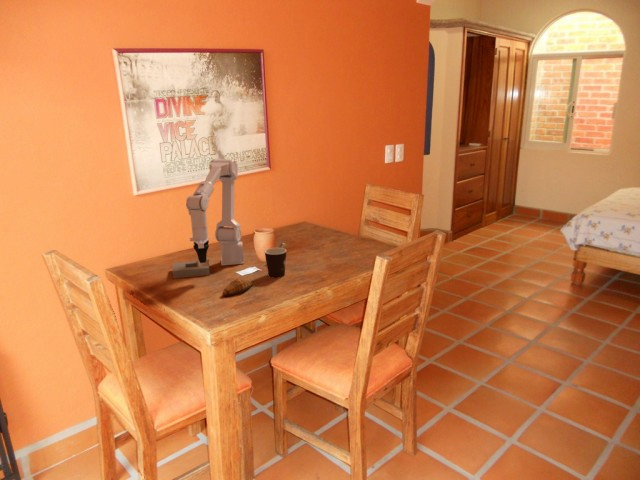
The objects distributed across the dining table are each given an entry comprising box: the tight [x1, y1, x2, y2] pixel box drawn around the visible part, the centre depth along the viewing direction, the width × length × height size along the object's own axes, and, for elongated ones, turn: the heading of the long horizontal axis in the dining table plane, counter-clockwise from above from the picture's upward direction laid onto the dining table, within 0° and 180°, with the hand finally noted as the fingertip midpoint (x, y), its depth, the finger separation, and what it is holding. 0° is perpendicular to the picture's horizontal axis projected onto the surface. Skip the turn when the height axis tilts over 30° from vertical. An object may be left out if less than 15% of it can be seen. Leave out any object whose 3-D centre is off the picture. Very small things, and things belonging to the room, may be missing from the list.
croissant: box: [222, 278, 254, 297], centre depth 176 cm, size 14×7×5 cm, turn 140°
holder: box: [172, 259, 210, 279], centre depth 196 cm, size 14×11×3 cm
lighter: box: [278, 242, 286, 249], centre depth 206 cm, size 7×2×8 cm, turn 131°
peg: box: [197, 255, 208, 267], centre depth 184 cm, size 3×3×6 cm
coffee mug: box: [264, 247, 287, 279], centre depth 191 cm, size 12×9×10 cm
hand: (202, 261), depth 184 cm, fingers closed on peg, 3 cm apart
